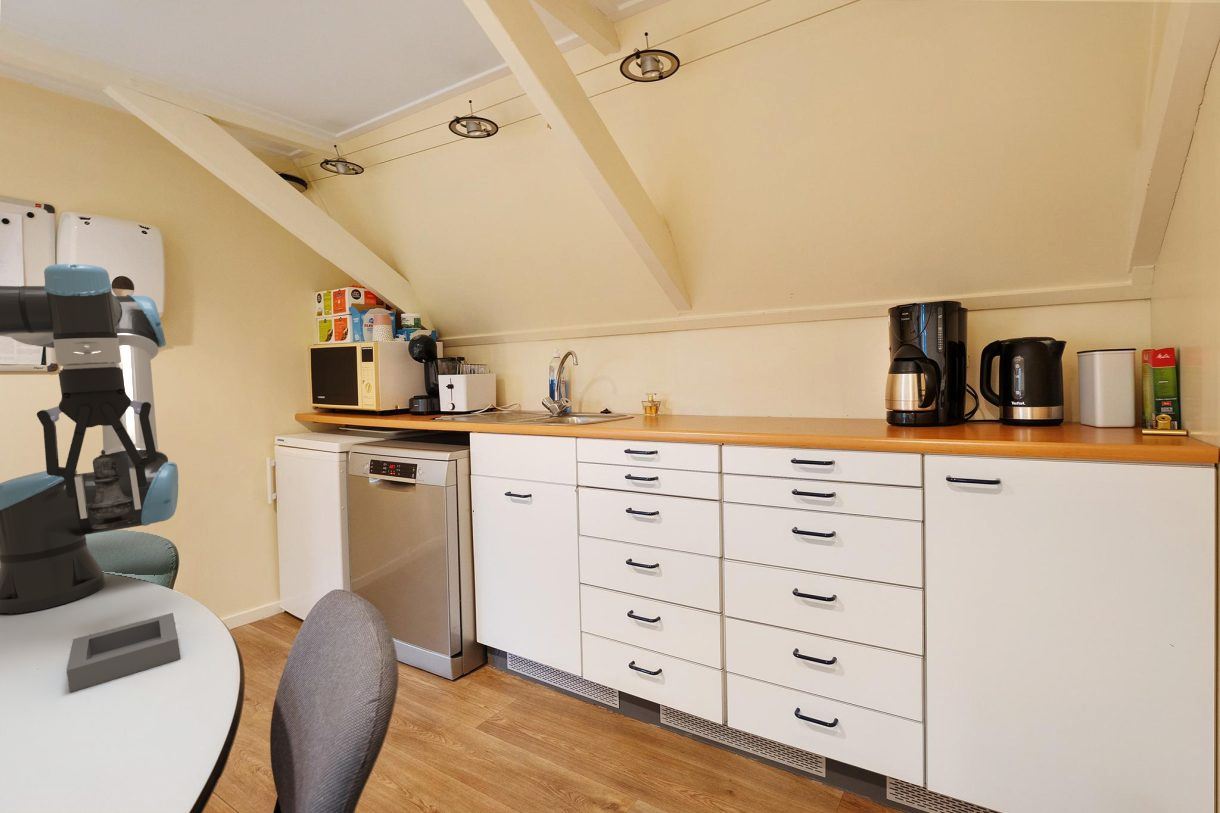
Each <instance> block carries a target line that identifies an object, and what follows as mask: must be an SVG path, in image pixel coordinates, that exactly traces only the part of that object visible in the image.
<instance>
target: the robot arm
mask: <svg viewBox="0 0 1220 813" xmlns="http://www.w3.org/2000/svg"><path fill="white" fill-rule="evenodd" d="M43 275H44V276H43V278H44V285H22V286H21V285H20V286H19V285H17V286H16V285H14V286H13V285H0V337H7V338H11V339H13V340H15V341H16V342H19V343H20V344H21V343H22V344H25V345H29V346H35V347H36V346H37V347H43V348H51V349H54V353H55V359H56V360H55V361H56V364H57V366H59V367H62V369H60V370H59V372H58V374H57V375H58V377H59V378H58V379H59V385H60V386H59V387H60V391H61V392H60V393H61V400H60V402H59V403H58V406H55V407H51V408H48V409H42V410H41V409H40V410H39V411H37V413H36V417H37V419H38V420H39V422H40V424H41V425H42V427H43V441H44V456H45V468H46V470H43V471H39V472H35V473H31V474H27V475H22V476H19V477H15V478H11V479H9V480H5V481H2V482H0V613H16V614H23V612H24V613H30V611H31V612H36V611H41V610H45V609H48V608H54V607H58V606H61V605H63V604H64V605H65V604H68V603H71V602H74V601H76V600H79V599H82V598H85V597H86V596H89V595H92V594H94V593H96V592H97V591H99V590H101V589H102V588H103V587H104V586H105V584H106V582H105V576H104V572H103V570H102V568H101V567H100V565H99V563H98V562H97V561H96V559H95V557H94V556H93V554H92V553H91V551H90V550H89V548H88V544H87V538H86V536H88V535H93V534H98V533H104V532H111V531H117V530H123V529H129V528H135V527H140V526H142V527H146V526H149V525H151V524H157V523H160V522H166V521H168V520H170V519H171V518H172V517H173V516H174V515H175V513H176V510H177V508H178V507H177V506H178V498H179V469H178V465H177V463H175V462H173V461H169V457H168V456H167V454H166V453H164V452H163V451H160V450H159V445H158V436H157V435H158V434H157V422H156V421H157V420H156V410H155V397H154V386H153V375H152V374H153V373H152V372H153V371H152V363H151V361H152V360H153V359H155V357H157V355H158V353H159V348H162V347H163V348H164V347H165V346H166V345H167V342H166V338H165V333H164V330H163V326H162V322H161V319H160V314H159V311H158V308H157V304H156V302H155V300H154V299H152V298H151V297H150V296H147V295H132V294H126V295H115V294H114V293H112V292H113V291H112V289H113V285H112V284H111V280H110V274H109V272H108V271H107V269H105V268H103V267H102V266H98V265H91V264H78V263H76V264H75V263H63V264H62V263H60V264H50V265H48V266H47V267H45V269H44V271H43ZM61 413H63V414H64V415H65V416H67V417H68V418H69V419H70V420H72V422H74V423H75V427H74V430H73V436H72V439H71V444H70V447H69V452H68V454H67V455H68V456H67V458H66V462H65V467H64V466H59V465H60V461H59V449H58V435H57V434H58V433H57V425H56V422H58V421H59V420H60V414H61ZM97 426H102V427H101V428H102V445H103V446H102V450H104V451H105V454H107V455H110V456H113V457H114V458H115V459H116V464H117V471H118V475H120V476H121V478H120V479H119V480H120V487H121V491H122V493H123V494H124V495H125V496H127V497H133V499H134V500H132V507H131V509H130V511H129V512H128V513H127V514H125V515H123V516H121V517H131V518H134V521H133V522H131V523H128V524H124V525H121V526H116V527H111V528H103V529H93V528H92V526H93V525H94V524H95V523H97V522H99V521H102V520H104V519H97V518H95V517H93V516H92V515H91V513H90V512H89V508H87V507H86V505H87V504H90V503H92V502H93V501H94V500H95V498H96V487H95V482H93V481H92V480H93V479H95V475H94V471H92V472H85V473H84V472H82V473H78V470H77V467H78V464H79V460H80V455H81V451H82V447H83V443H84V439H85V435H86V432H87V428H93V427H94V428H95V427H97Z"/></svg>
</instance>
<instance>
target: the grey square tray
mask: <svg viewBox="0 0 1220 813" xmlns="http://www.w3.org/2000/svg"><path fill="white" fill-rule="evenodd" d="M69 652H70V653H69V655H68V656H69V657H68V662H67V665H66V677H67V682H68V689H69V693H73V692H76V691H80V690H83V689H86V688H90V687H93V686H97V685H99V684H103V683H106V682H110V681H114V680H117V679H119V678H122V677H126V676H129V675H133V674H135V673H139V672H143V671H145V670H149V669H151V668H156V667H158V666H161V665H165V664H167V663H171V662H174V661H178V660H181V651H180V644H179V638H178V631H177V627H176V621H175V616H174V612H170V613H167V614H162V615H159V616H156V617H152V618H147V619H144V620H140V621H136V622H132V623H129V624H125V625H121V626H118V627H114V628H110V629H107V630H106V629H105V630H103V631H99V632H94V633H92V634H87V635H84V636H80V637H76V638H72V643H71V646H70V651H69Z"/></svg>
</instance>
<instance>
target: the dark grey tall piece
mask: <svg viewBox="0 0 1220 813" xmlns="http://www.w3.org/2000/svg"><path fill="white" fill-rule="evenodd" d="M99 453H100V454H99V455H98V456H96V457H95V458H93V460H92V469H93V472H94V475H95V479H93V480H92V481H93V482H95V487H96V498H95V500H94V501H93V502H92V503H90V504H87V505H86V507H87V508H89V512H90V513H91V515H92V516H93V517H95V518H97V519H104V520H102V521H99V522H97V523H95V524H94V525H93V526H92V528H93V529H103V528H111V527H116V526H121V525H124V524H128V523H131V522H133V521H134V518H131V517H121V516H123V515H125V514H127V513H128V512H129V511H130V509H131V507H132V500H134V499H133V497H127V496H125V495H124V494H123V493H122V491H121V487H120V480H119V479H120V478H121V476H120V475H118V471H117V464H116V459H115V458H114V457H113V456H110V455H107V454H105V451H104V450H103V449H101V451H100V452H99Z"/></svg>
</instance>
